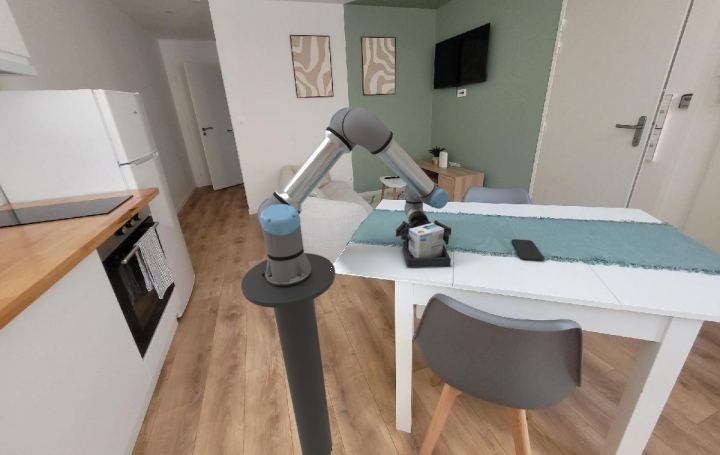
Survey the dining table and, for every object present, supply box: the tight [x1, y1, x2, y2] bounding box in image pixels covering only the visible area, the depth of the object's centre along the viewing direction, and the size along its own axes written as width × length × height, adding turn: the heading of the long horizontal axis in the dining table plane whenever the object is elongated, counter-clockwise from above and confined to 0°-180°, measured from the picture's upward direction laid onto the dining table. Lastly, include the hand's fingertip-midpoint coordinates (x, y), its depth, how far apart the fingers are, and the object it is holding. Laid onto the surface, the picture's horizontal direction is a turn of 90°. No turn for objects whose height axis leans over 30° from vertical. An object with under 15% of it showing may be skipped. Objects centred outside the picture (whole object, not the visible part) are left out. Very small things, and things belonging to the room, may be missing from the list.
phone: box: [511, 238, 545, 262], centre depth 106 cm, size 7×1×15 cm
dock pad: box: [402, 240, 452, 268], centre depth 105 cm, size 14×14×3 cm
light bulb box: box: [408, 222, 444, 258], centre depth 103 cm, size 11×7×11 cm, turn 115°
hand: (427, 241), depth 99 cm, fingers open, 13 cm apart
